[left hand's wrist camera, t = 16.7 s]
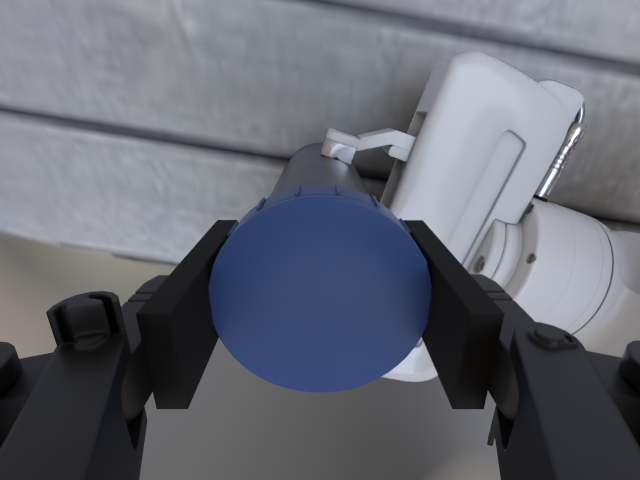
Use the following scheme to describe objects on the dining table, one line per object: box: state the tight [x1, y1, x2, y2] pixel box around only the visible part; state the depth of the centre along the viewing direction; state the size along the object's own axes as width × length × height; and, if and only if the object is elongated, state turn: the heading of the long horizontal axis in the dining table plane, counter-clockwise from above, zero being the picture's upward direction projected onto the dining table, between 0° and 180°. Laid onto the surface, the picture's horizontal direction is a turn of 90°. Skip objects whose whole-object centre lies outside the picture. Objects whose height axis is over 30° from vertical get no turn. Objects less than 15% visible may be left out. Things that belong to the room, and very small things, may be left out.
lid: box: [209, 183, 432, 392], centre depth 11 cm, size 7×7×2 cm
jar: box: [270, 143, 371, 197], centre depth 19 cm, size 6×6×17 cm
